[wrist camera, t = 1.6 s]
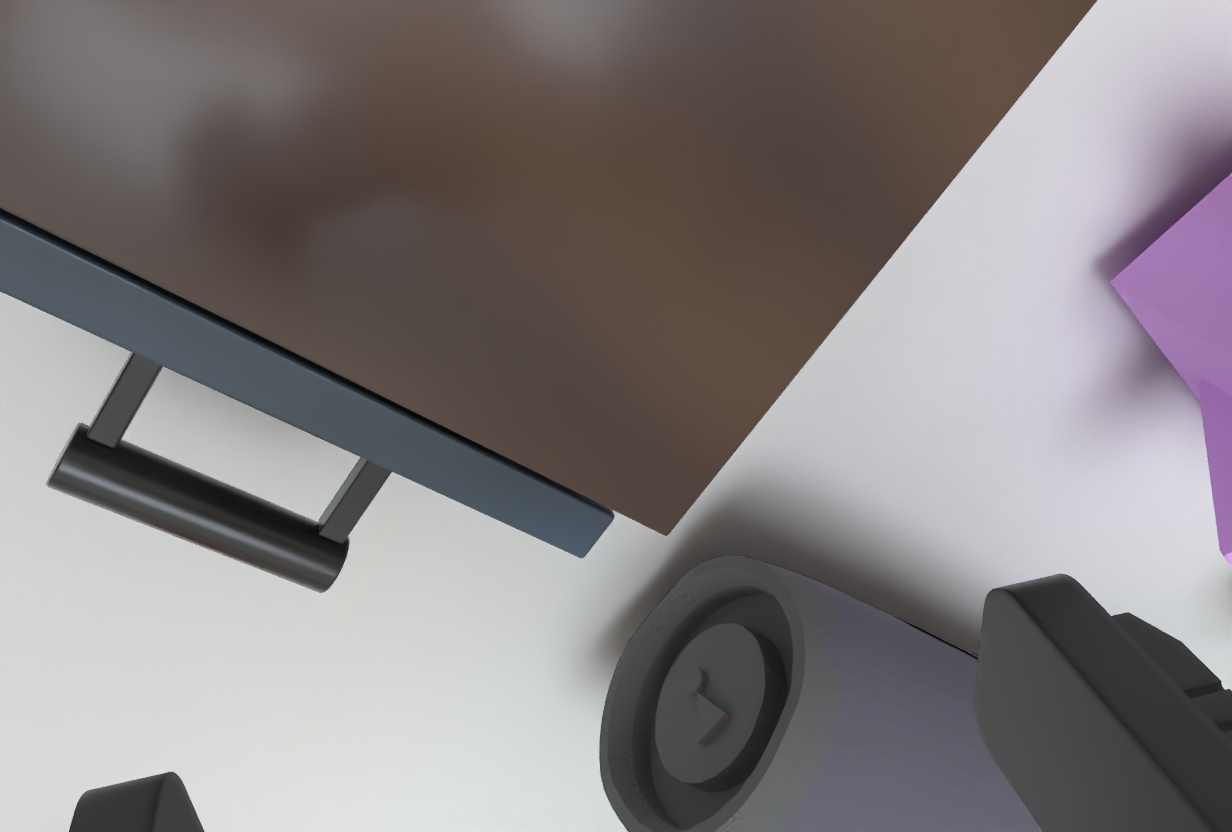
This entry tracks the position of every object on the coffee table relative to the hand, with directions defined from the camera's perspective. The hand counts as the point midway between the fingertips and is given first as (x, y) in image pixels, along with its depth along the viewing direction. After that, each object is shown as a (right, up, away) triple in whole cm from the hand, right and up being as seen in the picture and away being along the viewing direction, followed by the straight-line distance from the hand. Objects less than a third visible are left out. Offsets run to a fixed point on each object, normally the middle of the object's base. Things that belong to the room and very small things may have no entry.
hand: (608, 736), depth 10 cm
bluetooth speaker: (+10, -7, +28) cm, 31 cm away
